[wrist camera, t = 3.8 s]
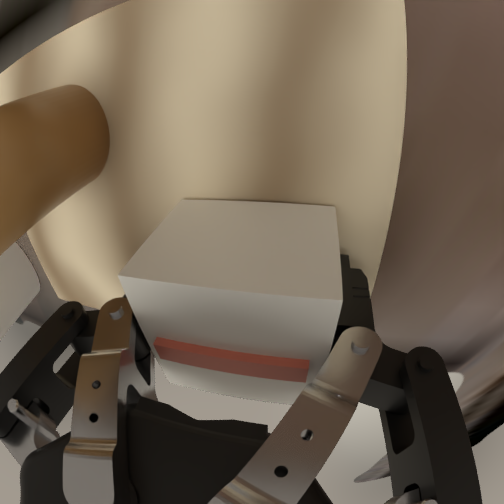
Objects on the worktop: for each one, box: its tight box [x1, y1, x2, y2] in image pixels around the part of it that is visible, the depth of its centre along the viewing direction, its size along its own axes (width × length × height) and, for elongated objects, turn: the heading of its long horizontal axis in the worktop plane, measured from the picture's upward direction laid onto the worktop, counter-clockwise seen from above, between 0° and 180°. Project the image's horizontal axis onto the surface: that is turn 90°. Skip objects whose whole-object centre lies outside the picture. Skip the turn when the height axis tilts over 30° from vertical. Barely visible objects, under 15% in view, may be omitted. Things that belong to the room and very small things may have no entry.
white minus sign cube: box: [118, 200, 343, 405], centre depth 10 cm, size 6×6×5 cm
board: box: [0, 0, 407, 309], centre depth 12 cm, size 20×16×2 cm
